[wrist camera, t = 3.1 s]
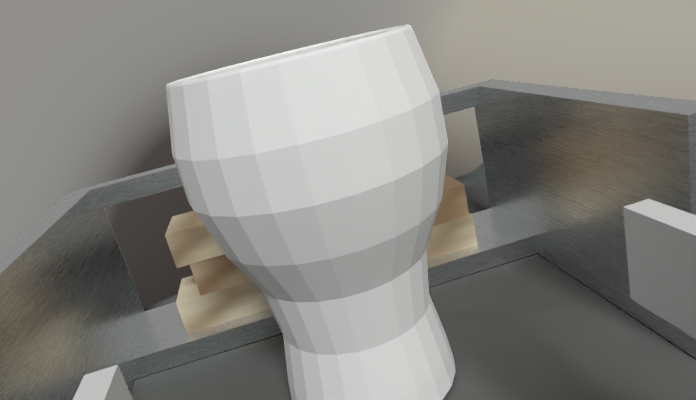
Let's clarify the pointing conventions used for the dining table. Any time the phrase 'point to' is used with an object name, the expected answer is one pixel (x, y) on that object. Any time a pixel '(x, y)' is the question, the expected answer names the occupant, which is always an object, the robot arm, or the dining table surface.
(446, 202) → the offcut bundle
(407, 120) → the cup
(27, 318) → the grey open storage bin
